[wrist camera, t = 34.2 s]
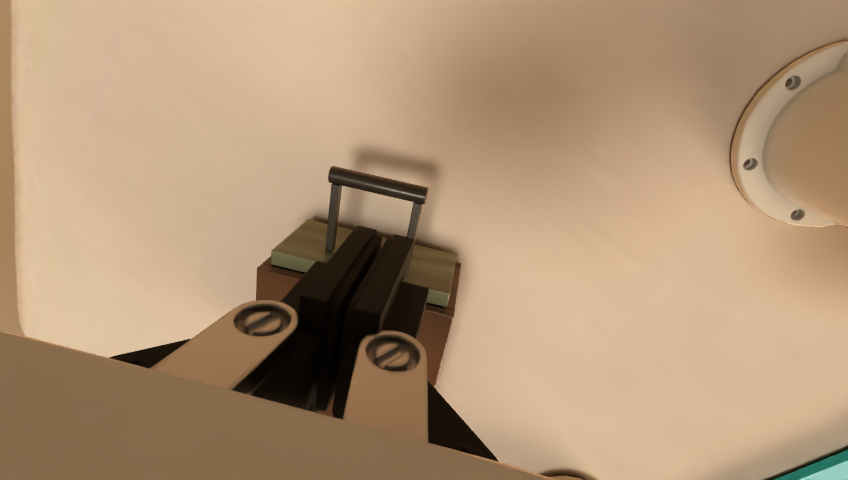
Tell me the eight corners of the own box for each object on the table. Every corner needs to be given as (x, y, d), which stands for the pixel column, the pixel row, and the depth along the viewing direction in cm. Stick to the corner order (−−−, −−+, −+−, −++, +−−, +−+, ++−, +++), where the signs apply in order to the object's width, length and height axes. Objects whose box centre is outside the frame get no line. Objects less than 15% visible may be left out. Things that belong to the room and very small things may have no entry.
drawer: (314, 144, 34) (274, 162, 28) (475, 181, 33) (471, 208, 27) (297, 348, 42) (264, 397, 36) (425, 381, 42) (414, 436, 35)
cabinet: (304, 225, 38) (256, 268, 30) (461, 263, 37) (453, 316, 29) (294, 358, 44) (252, 422, 36) (427, 393, 43) (414, 465, 35)
